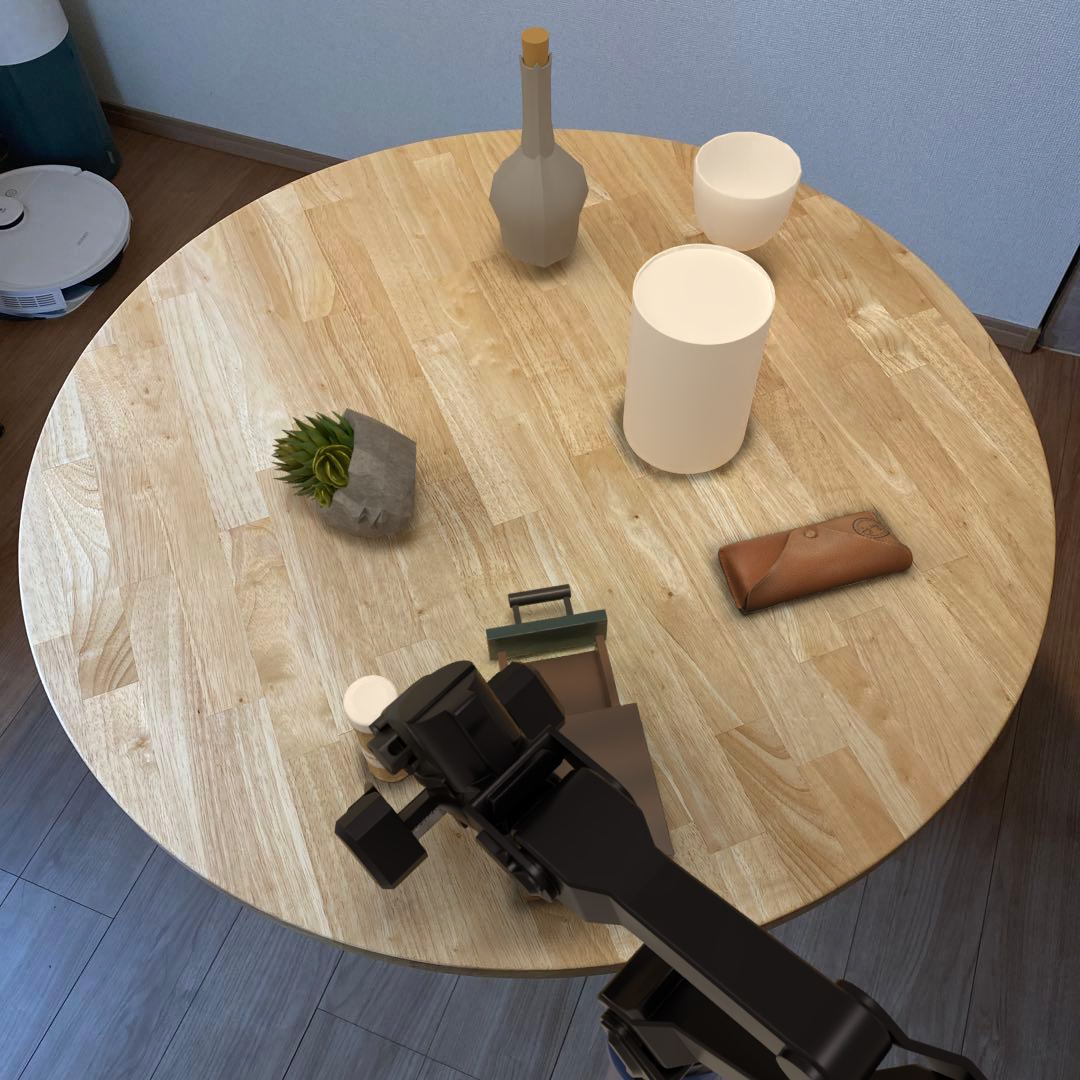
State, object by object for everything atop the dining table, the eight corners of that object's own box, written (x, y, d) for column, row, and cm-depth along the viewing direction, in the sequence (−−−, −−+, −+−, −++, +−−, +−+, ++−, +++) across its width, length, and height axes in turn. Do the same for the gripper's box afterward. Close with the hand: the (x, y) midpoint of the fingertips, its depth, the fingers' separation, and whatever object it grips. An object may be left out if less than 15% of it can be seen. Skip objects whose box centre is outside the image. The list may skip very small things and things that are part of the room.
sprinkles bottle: (378, 791, 95) (352, 733, 83) (361, 748, 97) (334, 686, 86) (425, 770, 96) (406, 710, 84) (407, 728, 98) (386, 664, 87)
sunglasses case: (871, 504, 110) (901, 498, 103) (889, 569, 110) (921, 567, 103) (711, 548, 107) (731, 545, 101) (729, 615, 107) (751, 616, 100)
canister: (767, 413, 117) (800, 279, 101) (704, 494, 112) (728, 366, 95) (665, 362, 122) (680, 225, 105) (599, 436, 116) (605, 304, 99)
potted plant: (402, 560, 104) (249, 528, 101) (404, 523, 116) (268, 494, 114) (428, 443, 101) (271, 408, 98) (428, 418, 113) (288, 386, 110)
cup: (673, 307, 127) (687, 192, 112) (687, 242, 133) (702, 125, 118) (770, 321, 125) (797, 206, 111) (780, 255, 131) (806, 137, 117)
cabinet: (499, 753, 96) (495, 727, 91) (633, 729, 97) (636, 702, 92) (524, 902, 89) (521, 883, 84) (668, 874, 90) (674, 854, 85)
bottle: (506, 226, 135) (493, -1, 110) (592, 236, 134) (599, 9, 109) (486, 287, 129) (468, 62, 104) (576, 299, 128) (579, 73, 103)
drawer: (482, 613, 103) (479, 591, 100) (595, 594, 104) (596, 572, 101) (509, 772, 94) (507, 754, 91) (632, 749, 95) (635, 731, 92)
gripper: (536, 617, 72) (443, 598, 86) (325, 806, 65) (260, 753, 79) (615, 736, 76) (514, 700, 89) (423, 927, 69) (345, 857, 82)
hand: (412, 747), depth 85 cm, fingers open, 9 cm apart
